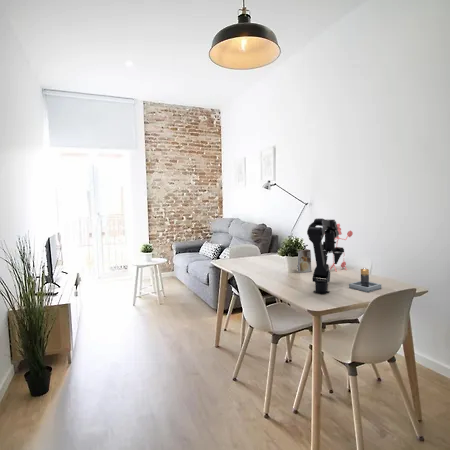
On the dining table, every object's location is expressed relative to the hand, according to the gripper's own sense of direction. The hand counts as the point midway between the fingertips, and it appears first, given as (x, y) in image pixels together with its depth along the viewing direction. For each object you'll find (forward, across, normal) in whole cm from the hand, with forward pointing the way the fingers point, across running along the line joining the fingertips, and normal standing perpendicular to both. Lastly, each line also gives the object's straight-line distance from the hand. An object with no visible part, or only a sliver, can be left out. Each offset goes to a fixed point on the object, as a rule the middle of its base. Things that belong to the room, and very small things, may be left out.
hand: (330, 265), depth 202 cm
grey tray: (+12, -9, +18) cm, 23 cm away
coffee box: (+13, -12, -38) cm, 42 cm away
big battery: (+11, -9, +17) cm, 23 cm away
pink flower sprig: (+13, -35, -28) cm, 47 cm away
